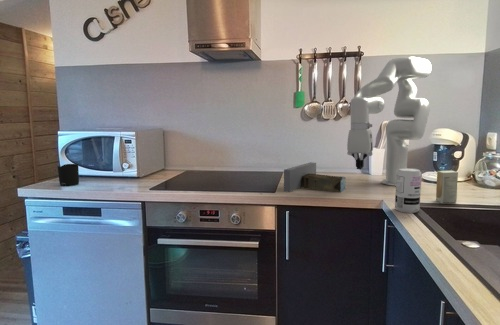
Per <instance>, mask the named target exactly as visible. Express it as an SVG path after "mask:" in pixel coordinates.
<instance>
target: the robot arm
mask: <svg viewBox="0 0 500 325" xmlns="http://www.w3.org/2000/svg"><path fill="white" fill-rule="evenodd" d="M431 72H432V64H431V62H430V60H429V59H426V58H422V57H418V56H417V57H416V56H404V57H398V58H397V57H395V58H392V59H390V60H389V61H388V62H387V63H386V64H385V66H384V67H383V69H381V72H380V73H379V74H378V76H377V77H376V78H374V79H373V80H371V81H370V82H369V83H367V84H365V85H364V86H362V87H360V88H359V90H357V92H356V93H355V95H354V96H353V98H352V99H351V100H350V129H348V135H347V142H346V143H347V144H346V146H347V147H346V148H347V155H348V156H352V157H353V158H354V160H355V167H356V170H362V169H363V168H364V167H365V159H366V158H367V157H371V156H373V150H374V142H373V133H372V129H370V128H372V127H373V123H370V115H371V114H372V115H373V114H374V115H375V114H379V113H381V112H382V111H383V110H384V109H385V105H386V104H385V101H384V99H383V98H382V97H381V95H383V94H386V93H389V92H390V91H392V90H394V87H395V86H396V84H397V86H398V92H397V97H396V101H395V104H394V110H393V114H394V116H395V117H396V118H398V119H391V120H390V121H388V122H387V124H386V125H385V137H386V158H385V178H384V179H382V180H381V183H382V184H383V185H387V186H395V187H396V176H397V172H398V170H399V169H401V168H408V154H409V153H408V152H409V151H408V150H409V149H408V145H407V143H406V141H407V140H408V141H419V140H420V139H422V138H423V137H424V135H425V131H426V127H427V125H428V124H427V123H428V119H429V115H430V111H431V110H430V109H431V108H430V102H429V100H427V99H426V98H423V97H417V96H418V88H417V85H416V84H415V83H414V82H413V79H415V80H416V79H425V78H427V77H428V76H429V75H431ZM399 118H400V119H399ZM405 140H406V141H405Z"/></svg>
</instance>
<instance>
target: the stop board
mask: <svg viewBox="0 0 500 325" xmlns="http://www.w3.org/2000/svg"><path fill="white" fill-rule="evenodd" d="M308 173H309V174H317V162H315V161H314V162H312V161H311V162H308V163H303V164H300V165H297V166H291V167H288V168H285V169H283V192H284V193H291V192H294V191H296V190H299V189H303V188H302V176H304V175H306V174H308Z"/></svg>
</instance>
